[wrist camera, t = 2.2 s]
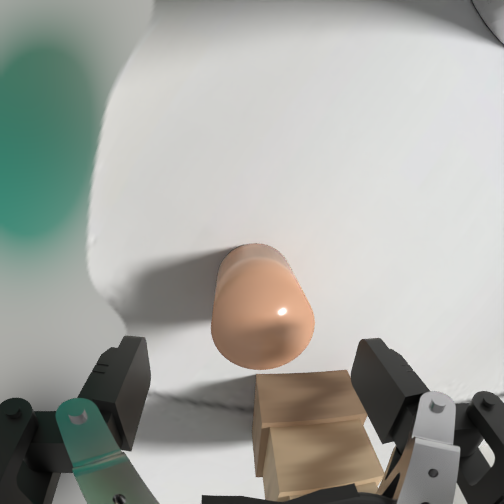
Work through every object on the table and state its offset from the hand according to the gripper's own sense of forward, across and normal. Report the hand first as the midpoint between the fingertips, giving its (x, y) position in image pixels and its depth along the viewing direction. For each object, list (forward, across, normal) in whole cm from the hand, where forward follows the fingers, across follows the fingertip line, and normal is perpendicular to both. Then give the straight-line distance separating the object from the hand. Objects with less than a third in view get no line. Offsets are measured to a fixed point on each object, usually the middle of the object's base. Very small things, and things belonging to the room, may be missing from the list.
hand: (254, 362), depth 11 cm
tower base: (+9, -5, +11) cm, 15 cm away
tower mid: (+4, -5, +11) cm, 13 cm away
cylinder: (+9, -1, 0) cm, 9 cm away
